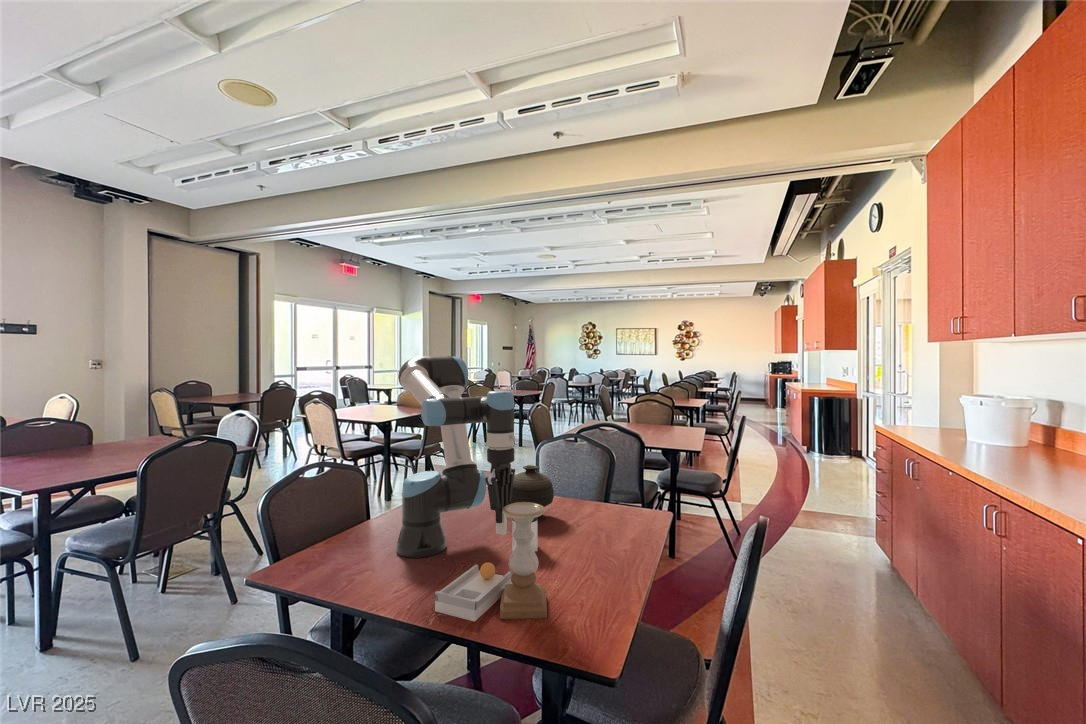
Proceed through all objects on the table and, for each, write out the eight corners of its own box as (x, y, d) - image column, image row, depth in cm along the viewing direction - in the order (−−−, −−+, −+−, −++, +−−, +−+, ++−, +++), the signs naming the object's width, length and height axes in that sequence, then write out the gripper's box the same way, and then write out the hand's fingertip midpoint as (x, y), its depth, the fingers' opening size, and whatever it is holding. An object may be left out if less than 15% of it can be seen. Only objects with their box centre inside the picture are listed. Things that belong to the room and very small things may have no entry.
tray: (435, 611, 112) (435, 592, 112) (475, 579, 129) (475, 562, 129) (474, 621, 108) (474, 601, 108) (511, 587, 124) (511, 569, 124)
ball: (477, 580, 123) (477, 564, 123) (485, 573, 127) (485, 558, 127) (490, 583, 121) (490, 567, 121) (498, 576, 125) (498, 561, 125)
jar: (519, 556, 144) (519, 517, 144) (506, 547, 151) (506, 509, 150) (543, 550, 149) (543, 511, 149) (530, 541, 155) (530, 505, 155)
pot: (519, 505, 191) (522, 457, 190) (559, 516, 183) (563, 465, 182) (495, 520, 175) (499, 467, 174) (538, 532, 167) (542, 477, 166)
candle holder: (545, 595, 120) (545, 501, 120) (547, 618, 109) (547, 515, 109) (502, 595, 120) (501, 501, 120) (499, 619, 109) (499, 515, 109)
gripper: (501, 452, 123) (501, 543, 122) (523, 444, 135) (524, 527, 134) (476, 450, 126) (476, 539, 126) (500, 442, 138) (500, 524, 137)
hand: (501, 533), depth 130 cm, fingers closed
